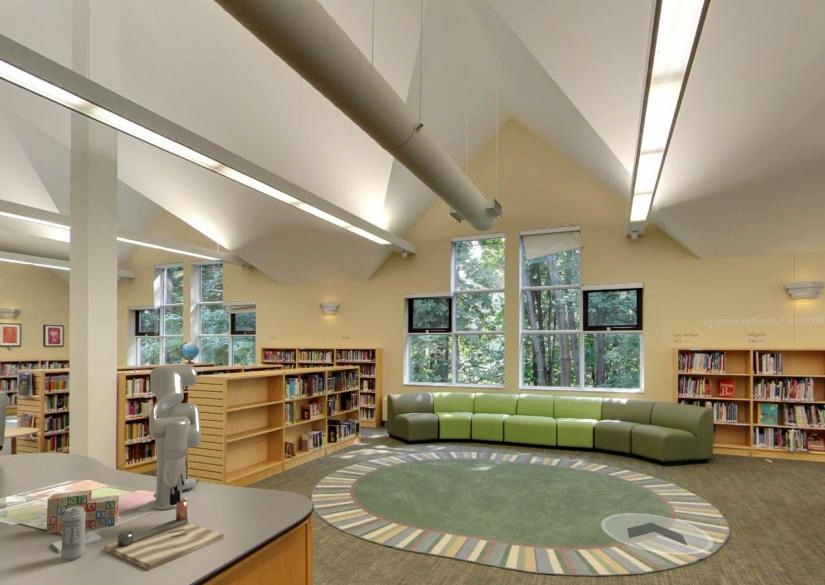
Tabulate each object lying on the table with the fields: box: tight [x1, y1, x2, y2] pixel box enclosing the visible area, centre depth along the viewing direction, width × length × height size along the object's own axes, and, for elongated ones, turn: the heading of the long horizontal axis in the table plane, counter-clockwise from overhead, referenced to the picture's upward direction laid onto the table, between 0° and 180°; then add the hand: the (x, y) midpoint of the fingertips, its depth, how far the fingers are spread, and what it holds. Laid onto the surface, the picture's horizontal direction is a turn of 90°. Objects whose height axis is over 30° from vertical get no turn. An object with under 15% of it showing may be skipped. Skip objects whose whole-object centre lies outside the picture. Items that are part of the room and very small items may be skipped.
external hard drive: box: [50, 531, 102, 554], centre depth 171 cm, size 2×8×12 cm
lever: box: [117, 499, 189, 546], centre depth 174 cm, size 24×4×8 cm, turn 148°
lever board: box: [103, 522, 225, 571], centre depth 169 cm, size 26×26×2 cm
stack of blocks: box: [46, 489, 120, 534], centre depth 185 cm, size 21×6×12 cm, turn 108°
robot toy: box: [182, 477, 201, 491], centre depth 228 cm, size 12×4×15 cm
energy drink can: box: [61, 506, 86, 562], centre depth 160 cm, size 6×6×15 cm
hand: (174, 504), depth 188 cm, fingers closed
